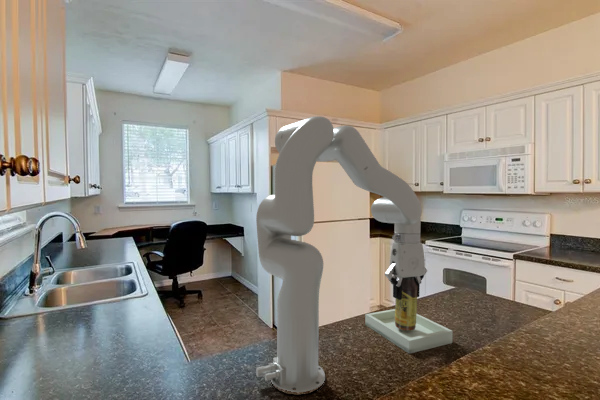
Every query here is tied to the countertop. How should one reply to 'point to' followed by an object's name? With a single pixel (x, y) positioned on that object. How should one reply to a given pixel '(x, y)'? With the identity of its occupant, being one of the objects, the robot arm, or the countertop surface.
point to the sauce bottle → (406, 305)
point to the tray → (410, 341)
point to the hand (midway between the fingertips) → (406, 296)
